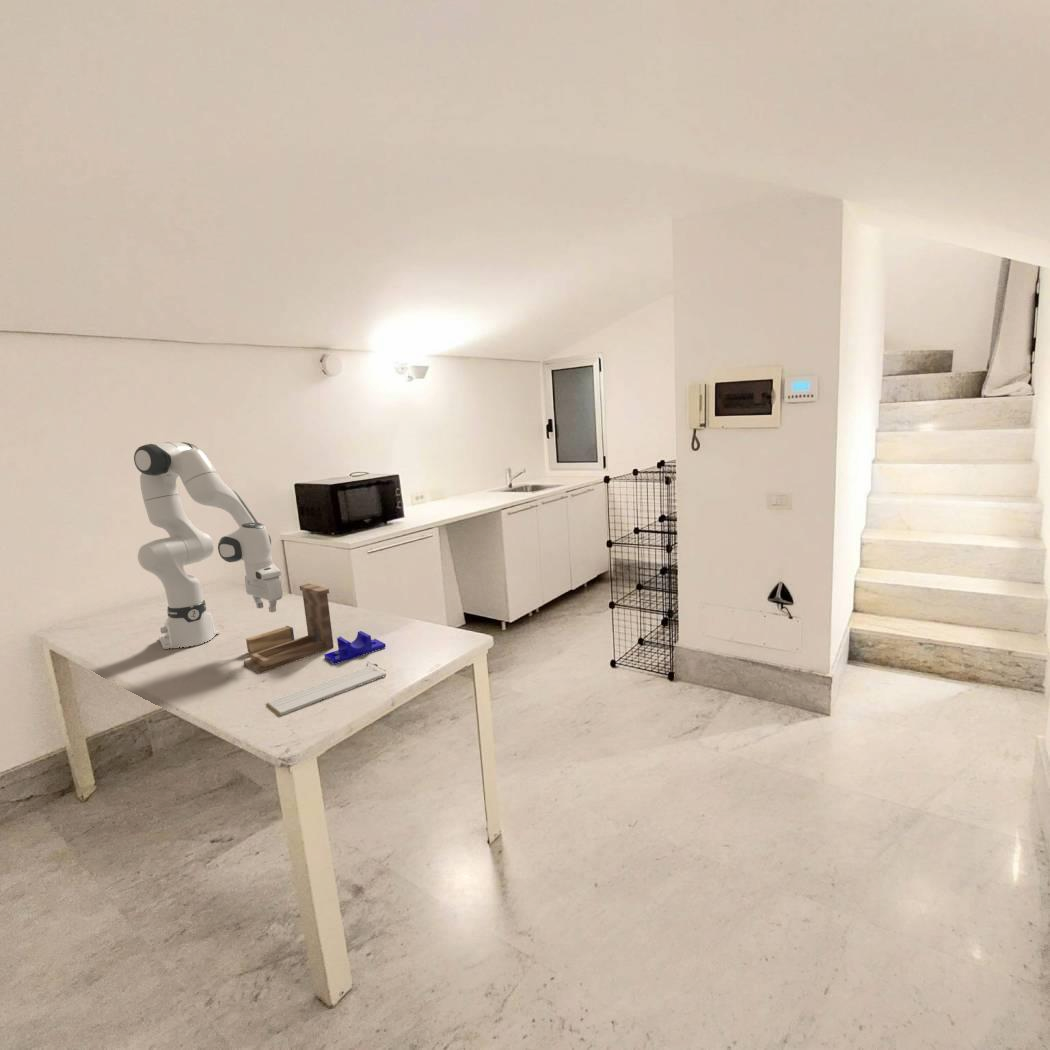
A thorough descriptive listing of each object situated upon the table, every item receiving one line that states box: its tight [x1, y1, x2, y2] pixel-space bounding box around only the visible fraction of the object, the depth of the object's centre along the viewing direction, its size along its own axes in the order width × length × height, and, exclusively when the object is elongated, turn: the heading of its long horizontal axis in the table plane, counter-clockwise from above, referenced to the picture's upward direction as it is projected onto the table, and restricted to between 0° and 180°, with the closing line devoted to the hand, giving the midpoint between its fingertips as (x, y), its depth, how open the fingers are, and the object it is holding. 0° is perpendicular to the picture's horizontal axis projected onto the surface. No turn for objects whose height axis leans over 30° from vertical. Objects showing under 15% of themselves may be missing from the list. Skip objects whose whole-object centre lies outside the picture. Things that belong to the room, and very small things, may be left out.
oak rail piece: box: [245, 625, 295, 654], centre depth 206 cm, size 4×15×5 cm, turn 138°
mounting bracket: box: [323, 630, 387, 665], centre depth 196 cm, size 18×7×6 cm, turn 131°
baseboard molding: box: [266, 661, 387, 716], centre depth 170 cm, size 31×3×12 cm
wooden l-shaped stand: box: [243, 583, 335, 674], centre depth 196 cm, size 13×26×20 cm, turn 138°
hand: (266, 609), depth 204 cm, fingers open, 8 cm apart
